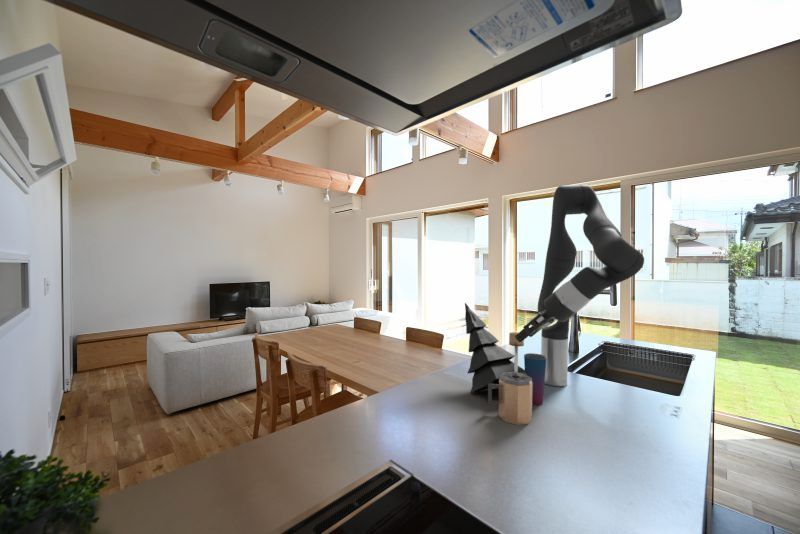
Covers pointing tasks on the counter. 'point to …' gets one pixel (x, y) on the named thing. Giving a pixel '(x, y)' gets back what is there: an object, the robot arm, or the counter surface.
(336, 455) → the counter surface
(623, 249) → the robot arm
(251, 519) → the counter surface
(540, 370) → the cup
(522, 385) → the press pot
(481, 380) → the decorative tree
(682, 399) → the counter surface
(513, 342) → the plunger
